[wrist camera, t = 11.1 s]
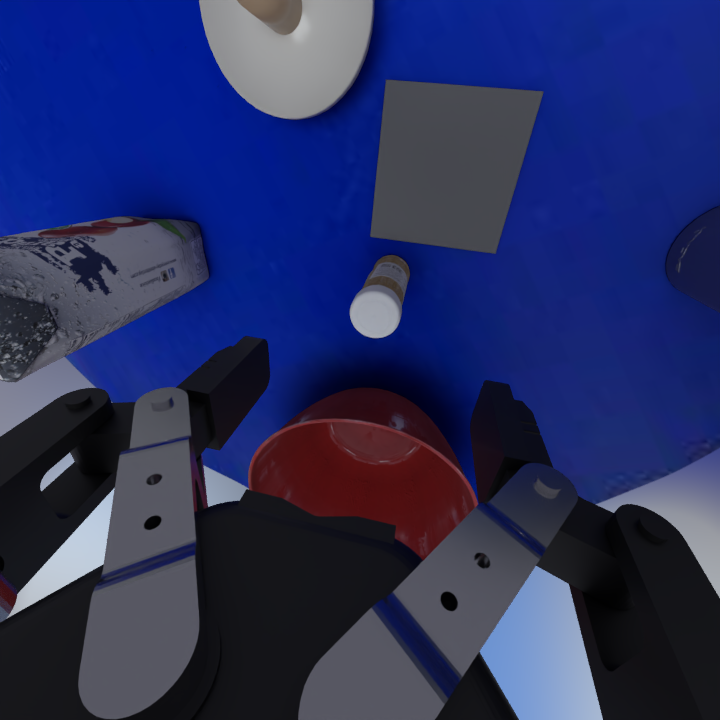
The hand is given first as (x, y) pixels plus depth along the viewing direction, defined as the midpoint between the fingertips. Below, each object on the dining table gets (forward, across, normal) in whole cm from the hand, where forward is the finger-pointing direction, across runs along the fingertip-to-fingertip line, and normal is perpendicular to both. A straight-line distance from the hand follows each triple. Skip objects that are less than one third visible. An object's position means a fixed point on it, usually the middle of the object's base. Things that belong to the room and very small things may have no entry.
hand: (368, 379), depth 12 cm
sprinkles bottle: (+30, +2, +5) cm, 31 cm away
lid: (+25, +13, -16) cm, 33 cm away
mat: (+30, -2, -6) cm, 31 cm away
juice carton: (+30, +31, +6) cm, 44 cm away
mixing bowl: (+30, +1, +30) cm, 43 cm away
